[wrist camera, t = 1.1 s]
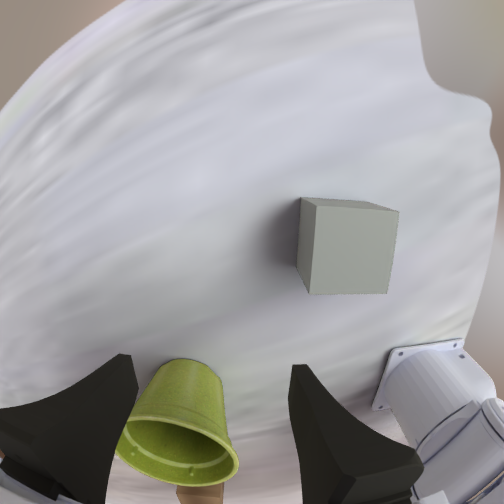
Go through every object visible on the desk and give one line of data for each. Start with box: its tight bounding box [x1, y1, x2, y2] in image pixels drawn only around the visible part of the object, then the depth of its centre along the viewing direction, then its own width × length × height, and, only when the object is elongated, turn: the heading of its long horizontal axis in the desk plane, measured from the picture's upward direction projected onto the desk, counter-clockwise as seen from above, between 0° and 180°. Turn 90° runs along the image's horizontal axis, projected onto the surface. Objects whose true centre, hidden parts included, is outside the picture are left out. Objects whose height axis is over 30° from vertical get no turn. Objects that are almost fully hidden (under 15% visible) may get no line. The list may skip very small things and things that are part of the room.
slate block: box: [296, 197, 399, 295], centre depth 18 cm, size 5×5×5 cm
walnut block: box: [176, 482, 224, 504], centre depth 26 cm, size 5×5×5 cm
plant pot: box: [115, 359, 239, 487], centre depth 20 cm, size 9×9×9 cm
